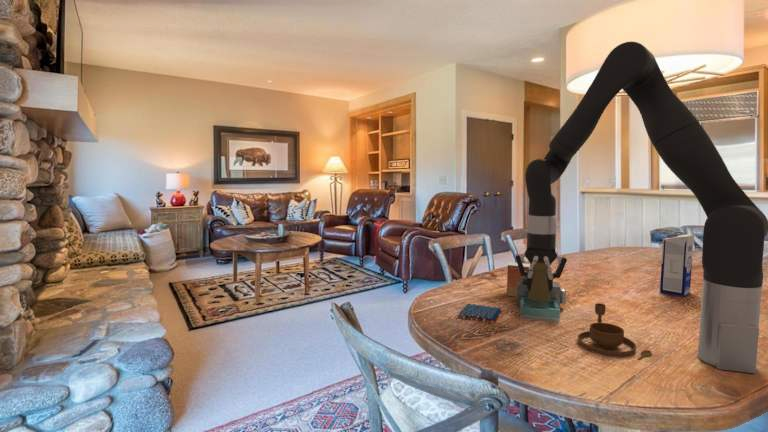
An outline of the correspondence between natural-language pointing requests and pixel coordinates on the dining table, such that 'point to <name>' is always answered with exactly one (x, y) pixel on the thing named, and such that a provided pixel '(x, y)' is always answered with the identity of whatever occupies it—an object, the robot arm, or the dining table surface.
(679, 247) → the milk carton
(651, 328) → the dining table surface
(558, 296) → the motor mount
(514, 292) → the small box
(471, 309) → the woven mat
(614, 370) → the dining table surface
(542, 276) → the cork
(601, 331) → the place setting
